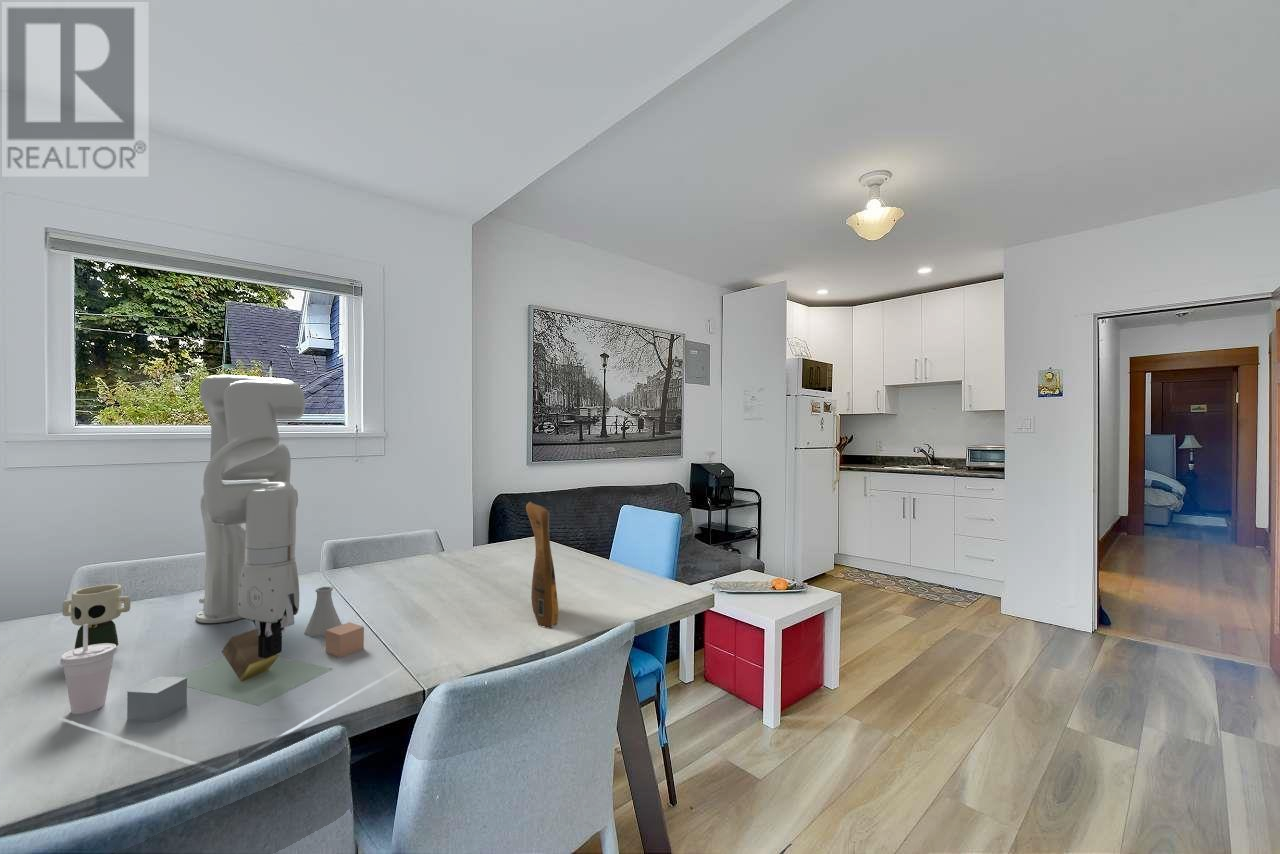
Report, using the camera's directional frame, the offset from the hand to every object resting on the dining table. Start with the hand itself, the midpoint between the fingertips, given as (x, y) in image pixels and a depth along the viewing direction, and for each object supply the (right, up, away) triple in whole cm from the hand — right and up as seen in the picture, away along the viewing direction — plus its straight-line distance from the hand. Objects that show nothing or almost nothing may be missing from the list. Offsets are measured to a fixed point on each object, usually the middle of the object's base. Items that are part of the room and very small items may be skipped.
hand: (270, 654), depth 96 cm
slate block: (-10, -5, -11) cm, 16 cm away
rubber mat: (-5, -5, +2) cm, 7 cm away
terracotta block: (+7, -5, +13) cm, 15 cm away
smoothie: (-22, -5, -10) cm, 25 cm away
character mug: (-43, -5, +11) cm, 44 cm away
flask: (-4, -5, +22) cm, 23 cm away
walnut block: (-2, -3, +1) cm, 4 cm away
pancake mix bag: (+43, -6, +34) cm, 55 cm away
